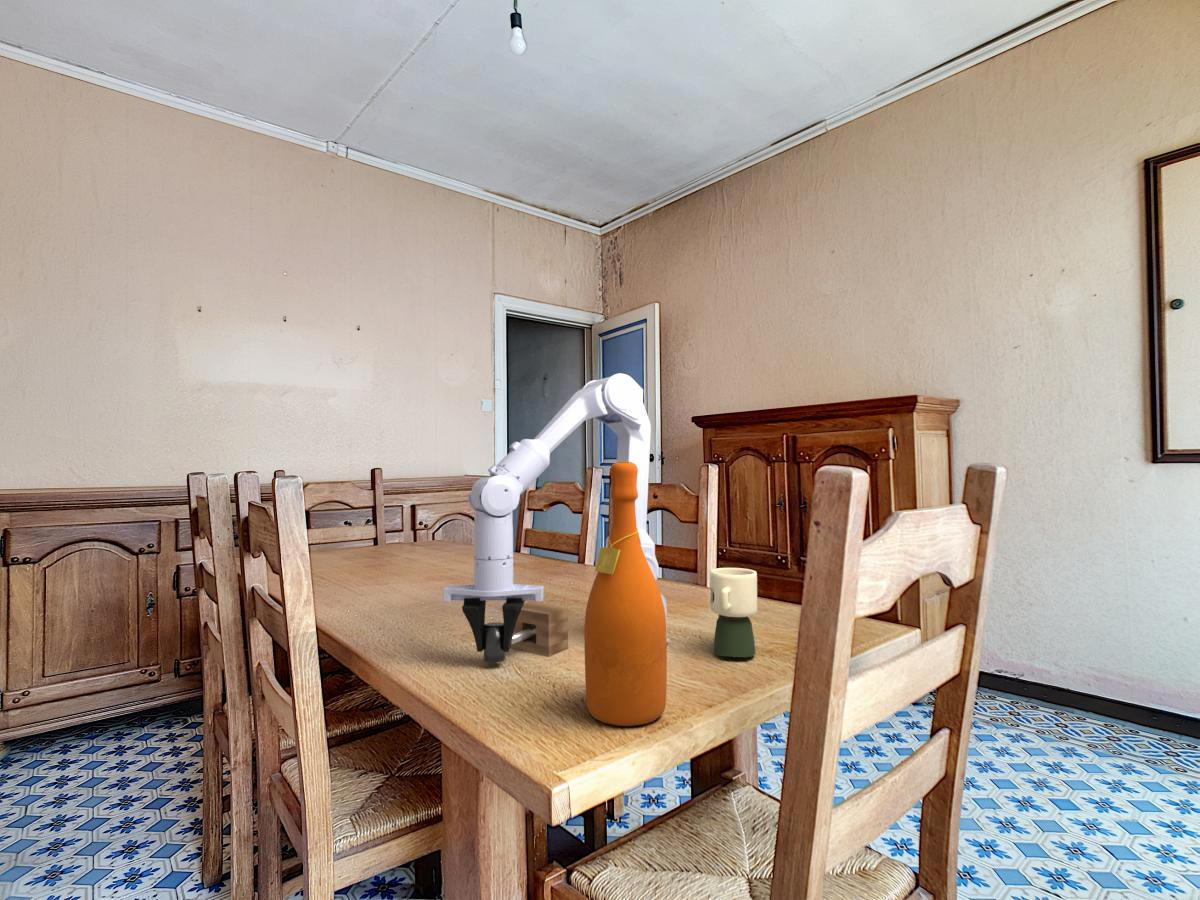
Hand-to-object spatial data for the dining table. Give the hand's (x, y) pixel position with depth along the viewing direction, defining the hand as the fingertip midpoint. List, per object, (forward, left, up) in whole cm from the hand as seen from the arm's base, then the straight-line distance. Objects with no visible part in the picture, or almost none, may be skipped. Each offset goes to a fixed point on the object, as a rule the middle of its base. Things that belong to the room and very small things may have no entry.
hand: (494, 649), depth 89 cm
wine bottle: (-25, +4, -3) cm, 25 cm away
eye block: (0, -10, -2) cm, 11 cm away
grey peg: (0, -5, -1) cm, 5 cm away
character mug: (-28, -23, -3) cm, 37 cm away
